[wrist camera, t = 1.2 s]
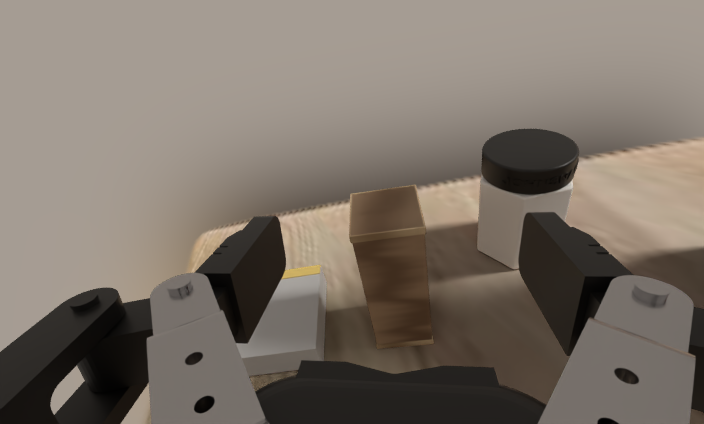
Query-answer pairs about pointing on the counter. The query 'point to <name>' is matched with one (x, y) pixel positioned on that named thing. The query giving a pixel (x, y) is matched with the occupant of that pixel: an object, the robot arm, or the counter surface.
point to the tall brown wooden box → (393, 264)
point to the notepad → (289, 325)
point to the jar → (522, 186)
